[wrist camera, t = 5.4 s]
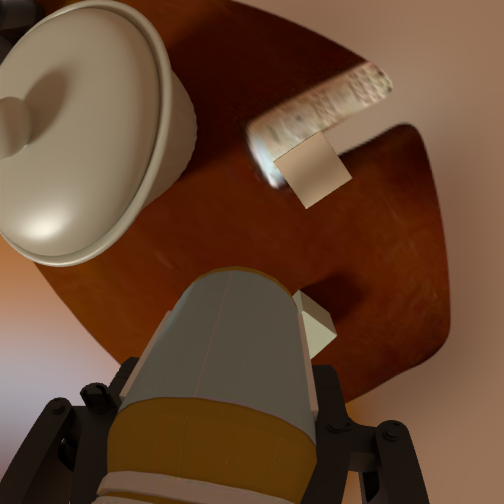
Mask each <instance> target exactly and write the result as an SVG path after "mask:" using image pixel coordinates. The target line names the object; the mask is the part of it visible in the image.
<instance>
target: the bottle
mask: <svg viewBox="0 0 504 504" xmlns="http://www.w3.org/2000/svg"><path fill="white" fill-rule="evenodd" d="M297 313H298V308H297V305H296V303H295V301H294V299H293V298H292V296H291V294H290V292H289V291H288V290H287V289H286V288H285V287H284V286H283V285H282V284H281V283H280V282H279V281H278V280H276V279H275V278H273V277H272V276H269V275H267V274H265V273H263V272H261V271H259V270H256V269H251V268H245V267H239V266H232V267H225V268H218V269H214V270H212V271H210V272H208V273H206V274H203V275H201V276H200V277H198V278H197V279H196V280H195V281H194V282H193V283H192V284H191V285H190V286H189V287H188V288H187V289H186V291H185V292H184V293H183V295H182V296H181V298H180V300H179V302H178V303H177V305H176V307H175V308H174V310H173V312H172V314H171V315H170V317H169V319H168V321H167V322H166V324H165V326H164V328H163V329H162V331H161V333H160V335H159V337H158V338H157V340H156V342H155V344H154V345H153V347H152V349H151V351H150V353H149V354H148V356H147V358H146V360H145V362H144V364H143V365H142V367H141V369H140V371H139V373H138V375H137V376H136V378H135V380H134V382H133V384H132V386H131V388H130V389H129V391H128V393H127V395H126V397H125V399H124V401H123V403H122V405H121V406H120V408H119V410H118V412H117V414H116V416H115V420H114V422H113V424H112V426H111V428H110V430H109V435H108V440H107V475H106V476H105V477H104V478H103V479H102V481H101V484H100V486H99V488H98V491H97V495H99V496H101V497H98V498H96V500H95V501H94V502H92V504H300V502H301V499H302V497H303V495H304V493H305V490H306V488H307V486H308V483H309V481H310V478H311V476H312V473H313V471H314V468H315V466H316V463H317V456H316V447H315V445H316V438H315V437H316V427H315V419H314V416H313V413H312V412H311V408H310V400H309V392H308V384H307V377H306V369H305V362H304V355H303V348H302V341H301V334H300V328H299V321H298V315H297Z"/></svg>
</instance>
